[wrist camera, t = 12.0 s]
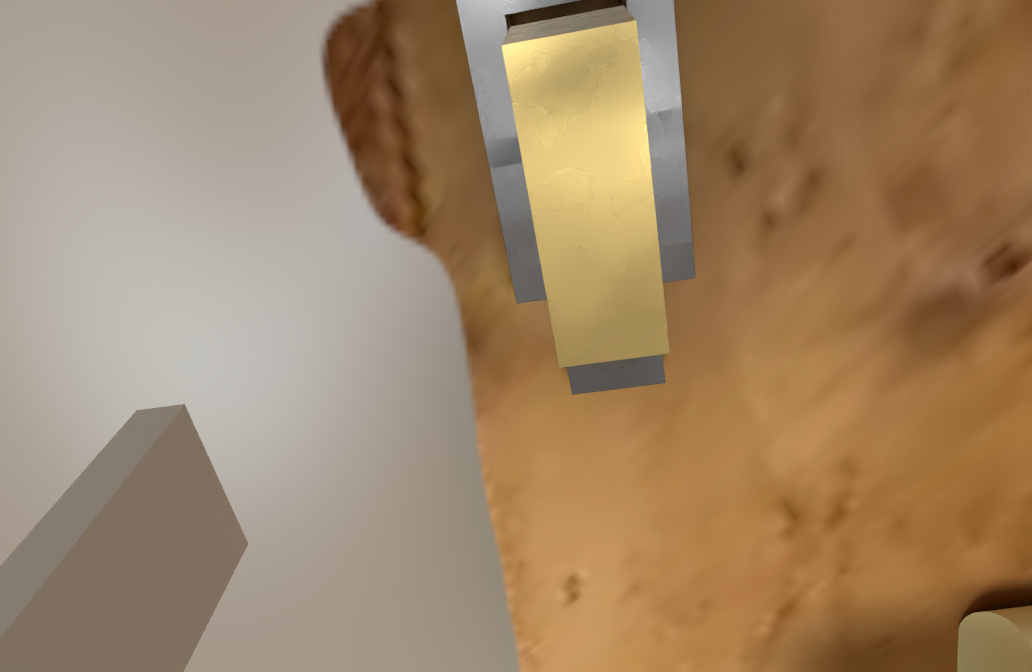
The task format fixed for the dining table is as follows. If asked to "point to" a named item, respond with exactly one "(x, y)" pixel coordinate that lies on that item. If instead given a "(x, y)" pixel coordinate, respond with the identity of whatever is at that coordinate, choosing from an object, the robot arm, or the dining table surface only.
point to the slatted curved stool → (996, 641)
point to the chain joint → (484, 31)
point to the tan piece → (590, 182)
